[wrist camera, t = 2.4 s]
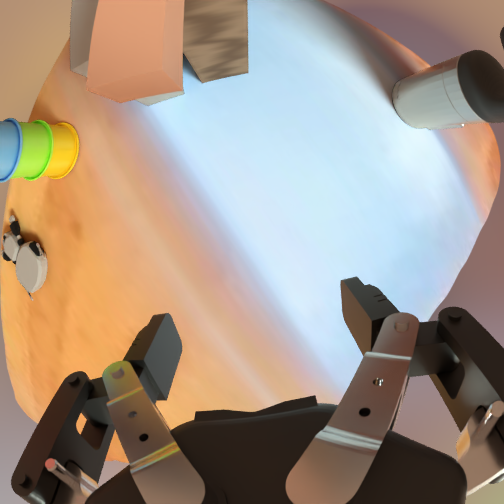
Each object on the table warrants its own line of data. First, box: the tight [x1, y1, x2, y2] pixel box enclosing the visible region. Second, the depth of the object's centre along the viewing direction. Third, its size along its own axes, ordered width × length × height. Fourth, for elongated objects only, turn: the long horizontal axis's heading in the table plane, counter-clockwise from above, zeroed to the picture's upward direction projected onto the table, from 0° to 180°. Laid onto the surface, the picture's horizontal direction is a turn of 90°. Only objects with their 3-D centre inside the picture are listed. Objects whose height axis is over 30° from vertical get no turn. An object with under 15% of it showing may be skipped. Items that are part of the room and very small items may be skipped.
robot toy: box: [1, 215, 48, 301], centre depth 41 cm, size 12×4×15 cm
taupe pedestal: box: [70, 0, 184, 106], centre depth 23 cm, size 6×12×21 cm, turn 12°
